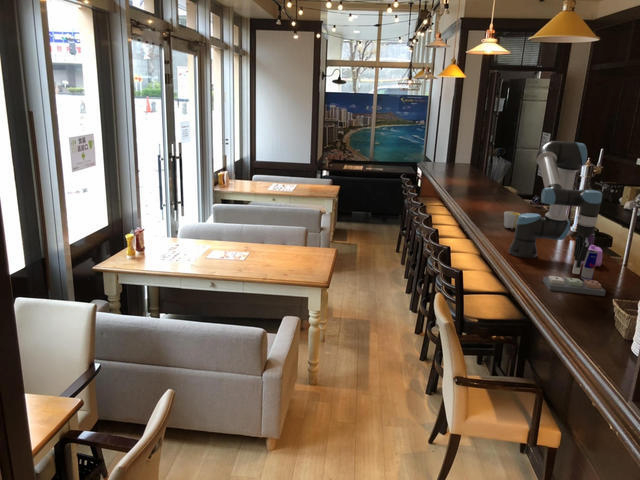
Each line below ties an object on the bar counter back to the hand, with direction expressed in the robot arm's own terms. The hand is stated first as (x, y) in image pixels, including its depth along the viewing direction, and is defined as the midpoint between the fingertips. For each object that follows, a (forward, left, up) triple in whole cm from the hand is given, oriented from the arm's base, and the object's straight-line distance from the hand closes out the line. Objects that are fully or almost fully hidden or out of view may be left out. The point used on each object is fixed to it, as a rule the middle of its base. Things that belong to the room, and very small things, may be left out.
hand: (575, 273), depth 240 cm
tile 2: (0, 0, -6) cm, 6 cm away
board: (0, 0, -7) cm, 7 cm away
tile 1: (0, -8, -6) cm, 10 cm away
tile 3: (0, +8, -6) cm, 10 cm away
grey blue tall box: (-16, +11, -8) cm, 21 cm away
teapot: (-48, +23, -8) cm, 53 cm away
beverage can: (-68, +27, -8) cm, 73 cm away
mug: (-115, -5, -8) cm, 116 cm away
